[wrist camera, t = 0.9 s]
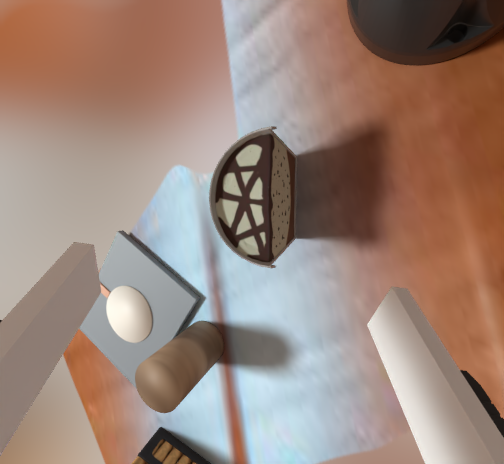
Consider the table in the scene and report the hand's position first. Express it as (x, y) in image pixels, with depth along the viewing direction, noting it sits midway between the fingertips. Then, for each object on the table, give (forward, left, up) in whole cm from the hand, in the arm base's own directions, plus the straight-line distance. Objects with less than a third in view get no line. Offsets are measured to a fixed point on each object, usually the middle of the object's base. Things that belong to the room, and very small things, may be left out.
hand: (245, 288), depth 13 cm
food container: (0, -7, -21) cm, 22 cm away
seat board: (+27, -16, -20) cm, 37 cm away
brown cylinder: (+22, -4, -21) cm, 30 cm away
